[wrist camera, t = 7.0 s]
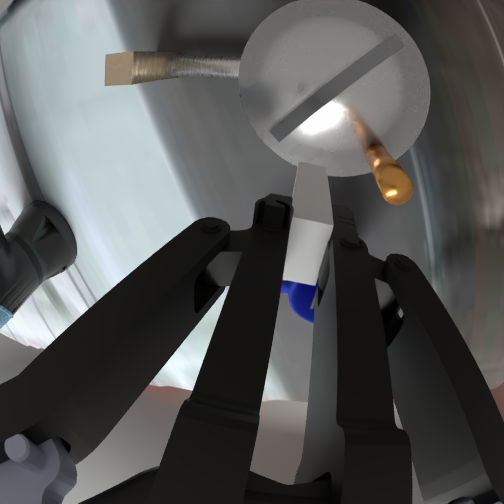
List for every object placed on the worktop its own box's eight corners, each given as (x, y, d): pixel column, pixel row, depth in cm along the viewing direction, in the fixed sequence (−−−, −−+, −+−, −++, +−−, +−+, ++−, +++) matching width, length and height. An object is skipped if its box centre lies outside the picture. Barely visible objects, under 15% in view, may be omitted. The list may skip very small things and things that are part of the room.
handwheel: (325, 203, 26) (325, 256, 20) (205, 79, 22) (159, 87, 15) (456, 110, 19) (506, 131, 12) (338, -32, 14) (345, -73, 8)
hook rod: (154, 77, 31) (104, 85, 23) (155, 53, 29) (105, 54, 21) (369, 105, 28) (389, 118, 20) (374, 78, 26) (397, 81, 18)
